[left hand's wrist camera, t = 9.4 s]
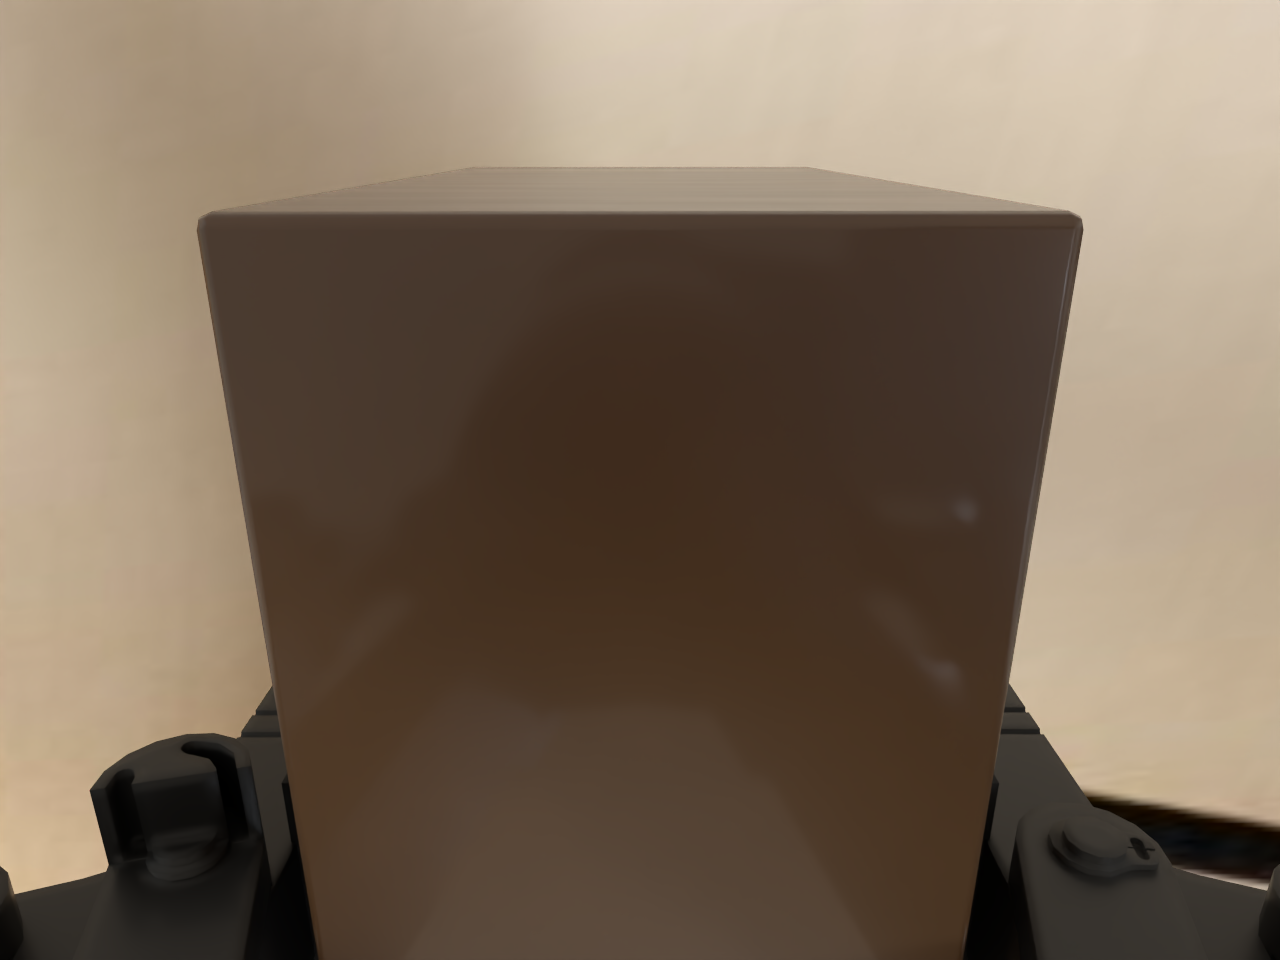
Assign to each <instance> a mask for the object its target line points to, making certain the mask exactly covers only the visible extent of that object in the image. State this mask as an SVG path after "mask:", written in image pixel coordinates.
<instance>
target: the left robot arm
mask: <svg viewBox="0 0 1280 960" xmlns="http://www.w3.org/2000/svg"><path fill="white" fill-rule="evenodd" d="M90 794H91V797H92V801H93V805H94V809H95V813H96V817H97V821H98V825H99V828H100V832H101V836H102V840H103V844H104V848H105V852H106V856H107V859H108V863H109V866H108V869H107V871H106V872H104V873H100V874H97V875H94V876H90V877H87V878H84V879H80V880H75V881H71V882H67V883H62V884H58V885H53V886H49V887H45V888H40V889H36V890H32V891H27V892H23V893H19V894H14V891H13V888H12V885H11V881H10V878H9V875H8V872H6V871H5V870H4V869H3V868H2V867H0V960H318V954H317V948H316V942H315V936H314V930H313V924H312V918H311V912H310V906H309V900H308V894H307V888H306V882H305V876H304V870H303V864H302V858H301V852H300V846H299V840H298V834H297V828H296V822H295V816H294V810H293V804H292V798H291V792H290V786H289V780H288V774H287V768H286V762H285V756H284V750H283V744H282V738H281V732H280V726H279V720H278V714H277V708H276V702H275V696H274V690H273V686H272V687H271V689H270V690H269V692H268V693H267V695H266V696H265V698H264V699H263V701H262V702H261V703H260V705H259V706H258V708H257V709H256V715H252V717H251V718H250V720H249V721H248V723H247V724H246V726H245V727H244V729H243V730H242V732H241V737H238V738H237V739H235V738H231V737H227V736H223V735H219V734H215V733H208V734H186V735H181V736H177V737H173V738H169V739H165V740H161V741H157V742H154V743H152V744H150V745H148V746H145V747H143V748H141V749H139V750H136V751H134V752H132V753H130V754H128V755H126V756H125V757H123V758H122V759H121V760H119V761H118V762H116V763H115V764H114V765H112V766H111V767H110V768H108V769H107V770H105V771H104V772H103V774H102V775H101V776H100V778H99V779H98V780H97V782H96V783H95V784H94V785H93V787H92V788H91V789H90ZM963 960H1280V864H1279V865H1278V866H1277V867H1276V868H1275V869H1274V871H1273V874H1272V877H1271V881H1270V884H1269V887H1268V890H1267V891H1265V890H1261V889H1257V888H1252V887H1248V886H1244V885H1239V884H1235V883H1230V882H1226V881H1222V880H1217V879H1213V878H1208V877H1204V876H1200V875H1196V874H1193V873H1189V872H1186V871H1183V870H1179V869H1176V868H1173V867H1172V864H1171V863H1170V861H1169V860H1168V858H1167V857H1166V855H1165V854H1164V852H1163V850H1162V849H1161V847H1160V846H1159V844H1158V843H1157V842H1156V841H1154V840H1153V839H1152V838H1151V837H1149V836H1148V835H1147V834H1146V833H1145V832H1143V831H1142V830H1141V829H1140V828H1138V827H1137V826H1136V825H1134V824H1132V823H1130V822H1128V821H1126V820H1124V819H1122V818H1120V817H1119V816H1117V815H1115V814H1113V813H1111V812H1109V811H1105V810H1102V809H1098V808H1094V807H1093V806H1092V805H1091V803H1090V802H1089V801H1088V799H1087V798H1086V796H1085V795H1084V793H1083V792H1082V790H1081V789H1080V787H1079V786H1078V784H1077V783H1076V781H1075V780H1074V778H1073V777H1072V776H1071V774H1070V773H1069V771H1068V770H1067V768H1066V767H1065V765H1064V764H1063V762H1062V761H1061V759H1060V758H1059V756H1058V755H1057V753H1056V752H1055V751H1054V749H1053V748H1052V746H1051V745H1050V743H1049V742H1048V740H1047V739H1046V737H1045V736H1044V734H1040V728H1039V727H1038V726H1037V724H1036V723H1035V721H1034V720H1033V718H1032V717H1031V715H1030V714H1029V713H1026V712H1025V706H1024V705H1023V703H1022V702H1021V701H1020V699H1019V698H1018V696H1017V695H1016V693H1015V692H1014V690H1013V689H1012V687H1011V686H1010V684H1009V683H1008V689H1007V695H1006V702H1005V708H1004V714H1003V720H1002V726H1001V732H1000V738H999V744H998V750H997V756H996V762H995V768H994V774H993V780H992V786H991V793H990V799H989V805H988V811H987V817H986V823H985V829H984V835H983V841H982V847H981V853H980V859H979V865H978V871H977V877H976V883H975V890H974V896H973V902H972V908H971V914H970V920H969V926H968V932H967V938H966V944H965V950H964V956H963Z"/></svg>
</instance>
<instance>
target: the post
mask: <svg viewBox="0 0 1280 960" xmlns="http://www.w3.org/2000/svg"><path fill="white" fill-rule="evenodd" d="M197 234H198V240H199V246H200V252H201V258H202V264H203V270H204V276H205V282H206V288H207V294H208V300H209V306H210V312H211V318H212V324H213V330H214V336H215V342H216V348H217V354H218V360H219V366H220V372H221V378H222V384H223V390H224V396H225V402H226V408H227V414H228V420H229V426H230V432H231V438H232V444H233V450H234V456H235V462H236V468H237V474H238V480H239V486H240V492H241V498H242V504H243V510H244V516H245V522H246V528H247V534H248V540H249V546H250V552H251V558H252V564H253V570H254V576H255V582H256V588H257V594H258V600H259V606H260V612H261V618H262V624H263V630H264V636H265V642H266V648H267V654H268V660H269V666H270V672H271V678H272V684H273V690H274V696H275V702H276V708H277V714H278V720H279V726H280V732H281V738H282V744H283V750H284V756H285V762H286V768H287V774H288V780H289V786H290V792H291V798H292V804H293V810H294V816H295V822H296V828H297V834H298V840H299V846H300V852H301V858H302V864H303V870H304V876H305V882H306V888H307V894H308V900H309V906H310V912H311V918H312V924H313V930H314V936H315V942H316V948H317V954H318V960H963V956H964V950H965V944H966V938H967V932H968V926H969V920H970V914H971V908H972V902H973V896H974V890H975V883H976V877H977V871H978V865H979V859H980V853H981V847H982V841H983V835H984V829H985V823H986V817H987V811H988V805H989V799H990V793H991V786H992V780H993V774H994V768H995V762H996V756H997V750H998V744H999V738H1000V732H1001V726H1002V720H1003V714H1004V708H1005V702H1006V695H1007V689H1008V683H1009V677H1010V671H1011V665H1012V659H1013V653H1014V647H1015V641H1016V635H1017V629H1018V623H1019V617H1020V611H1021V605H1022V598H1023V592H1024V586H1025V580H1026V574H1027V568H1028V562H1029V556H1030V550H1031V544H1032V538H1033V532H1034V526H1035V520H1036V514H1037V508H1038V501H1039V495H1040V489H1041V483H1042V477H1043V471H1044V465H1045V459H1046V453H1047V447H1048V441H1049V435H1050V429H1051V423H1052V417H1053V411H1054V404H1055V398H1056V392H1057V386H1058V380H1059V374H1060V368H1061V362H1062V356H1063V350H1064V344H1065V338H1066V332H1067V326H1068V320H1069V313H1070V307H1071V301H1072V295H1073V289H1074V283H1075V277H1076V271H1077V265H1078V259H1079V253H1080V247H1081V241H1082V235H1083V224H1082V219H1081V217H1080V216H1079V215H1076V214H1074V213H1072V212H1070V211H1066V210H1060V209H1054V208H1048V207H1042V206H1036V205H1031V204H1025V203H1019V202H1013V201H1007V200H1001V199H995V198H989V197H983V196H977V195H971V194H965V193H959V192H953V191H947V190H941V189H935V188H929V187H923V186H917V185H911V184H905V183H899V182H893V181H887V180H881V179H875V178H869V177H863V176H857V175H851V174H845V173H839V172H833V171H827V170H821V169H815V168H809V167H472V168H466V169H460V170H455V171H449V172H443V173H437V174H431V175H425V176H419V177H413V178H407V179H401V180H396V181H390V182H384V183H378V184H372V185H366V186H360V187H354V188H348V189H342V190H337V191H331V192H325V193H319V194H313V195H307V196H301V197H295V198H289V199H284V200H278V201H272V202H266V203H260V204H254V205H248V206H242V207H236V208H230V209H225V210H219V211H213V212H210V213H208V214H206V215H203V216H201V217H200V218H199V220H198V227H197Z"/></svg>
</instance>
